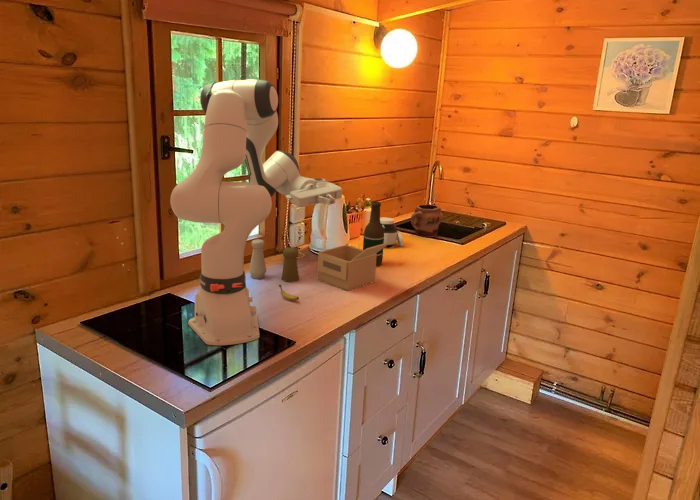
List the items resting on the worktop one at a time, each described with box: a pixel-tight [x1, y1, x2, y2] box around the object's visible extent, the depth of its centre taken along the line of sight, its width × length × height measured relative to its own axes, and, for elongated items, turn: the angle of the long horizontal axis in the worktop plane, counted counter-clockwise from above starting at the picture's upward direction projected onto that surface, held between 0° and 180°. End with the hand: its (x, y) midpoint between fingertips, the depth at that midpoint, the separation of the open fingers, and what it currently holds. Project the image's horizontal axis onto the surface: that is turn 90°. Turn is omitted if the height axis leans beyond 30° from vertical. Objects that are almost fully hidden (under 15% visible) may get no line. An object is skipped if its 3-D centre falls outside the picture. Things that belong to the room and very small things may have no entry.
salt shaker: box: [248, 238, 267, 280], centre depth 187 cm, size 6×6×13 cm
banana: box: [278, 284, 300, 302], centre depth 170 cm, size 8×2×4 cm, turn 54°
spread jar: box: [380, 216, 405, 249], centre depth 233 cm, size 12×11×12 cm
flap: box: [352, 242, 390, 261], centre depth 179 cm, size 8×12×1 cm
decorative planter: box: [410, 204, 444, 238], centre depth 251 cm, size 20×12×14 cm, turn 137°
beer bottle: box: [362, 200, 384, 267], centre depth 206 cm, size 8×8×24 cm
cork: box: [280, 246, 300, 283], centre depth 187 cm, size 6×6×11 cm
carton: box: [317, 244, 377, 292], centre depth 188 cm, size 15×15×10 cm
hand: (332, 201), depth 185 cm, fingers closed
